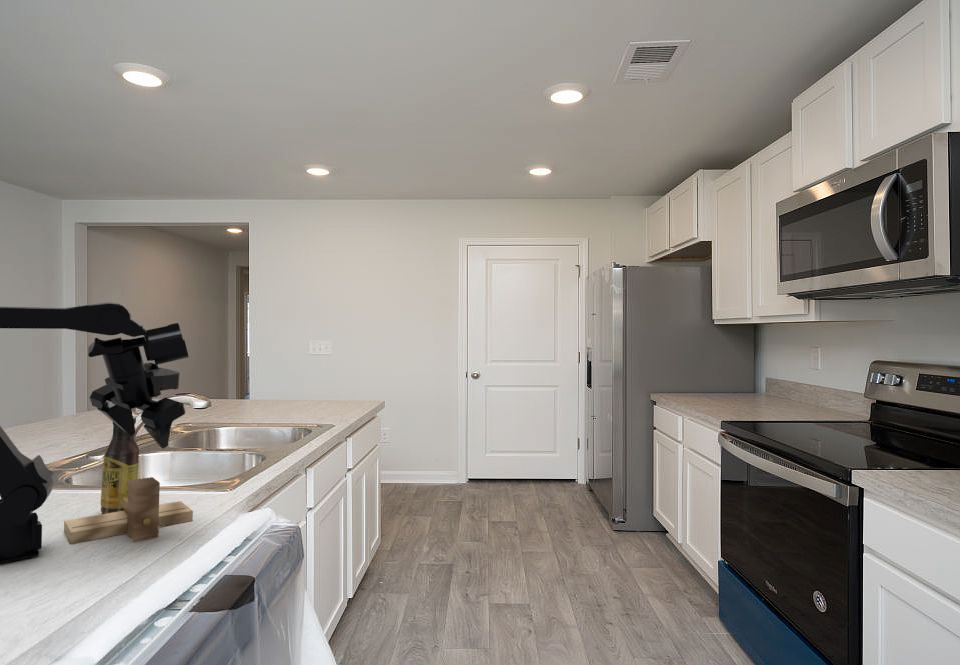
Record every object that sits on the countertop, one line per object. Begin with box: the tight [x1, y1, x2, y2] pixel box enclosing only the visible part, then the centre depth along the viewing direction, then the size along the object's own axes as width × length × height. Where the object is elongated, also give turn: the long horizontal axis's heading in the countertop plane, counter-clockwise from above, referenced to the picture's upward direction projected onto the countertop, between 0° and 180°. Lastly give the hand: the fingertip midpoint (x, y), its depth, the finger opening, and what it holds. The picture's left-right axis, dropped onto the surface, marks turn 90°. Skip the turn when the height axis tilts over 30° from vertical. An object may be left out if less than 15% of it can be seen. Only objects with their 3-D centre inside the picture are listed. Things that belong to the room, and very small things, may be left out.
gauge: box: [123, 476, 161, 543], centre depth 109 cm, size 4×15×10 cm, turn 43°
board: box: [63, 500, 194, 545], centre depth 110 cm, size 20×8×2 cm, turn 133°
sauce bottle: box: [99, 415, 140, 514], centre depth 118 cm, size 7×6×20 cm
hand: (148, 440), depth 110 cm, fingers open, 9 cm apart
